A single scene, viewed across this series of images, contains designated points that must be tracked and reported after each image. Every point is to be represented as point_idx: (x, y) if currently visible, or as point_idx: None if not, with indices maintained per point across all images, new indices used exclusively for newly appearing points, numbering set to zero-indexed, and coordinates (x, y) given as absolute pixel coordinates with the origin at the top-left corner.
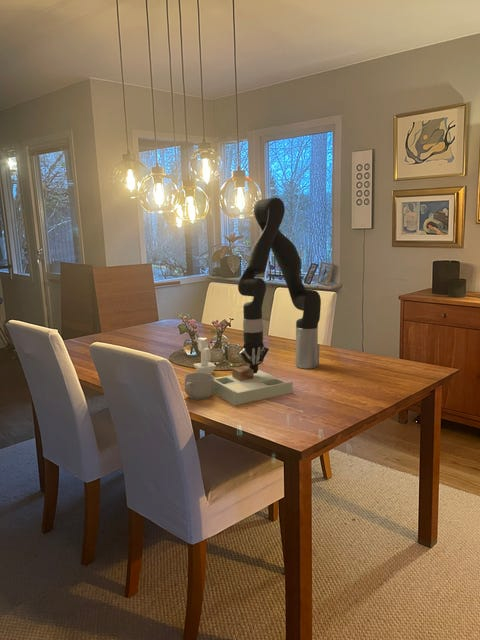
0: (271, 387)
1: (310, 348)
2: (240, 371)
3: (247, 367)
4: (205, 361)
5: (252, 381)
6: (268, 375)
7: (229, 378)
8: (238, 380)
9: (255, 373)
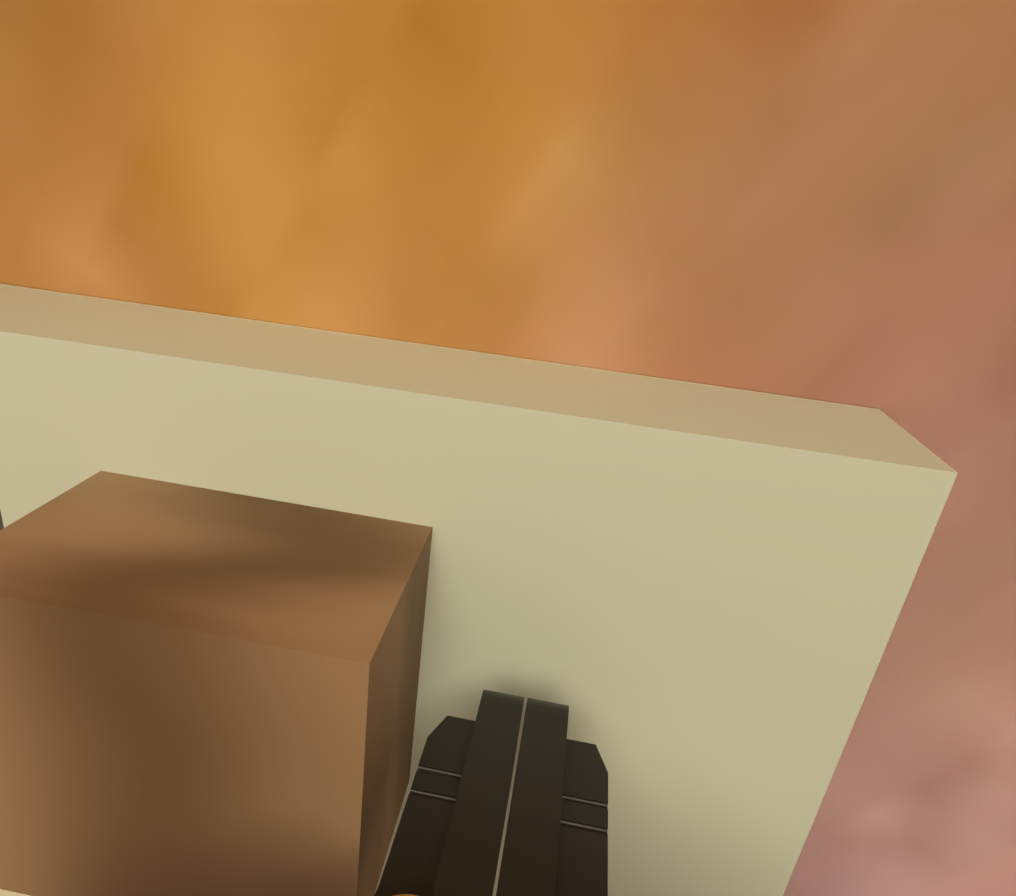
0: None
1: None
2: (22, 876)
3: (323, 793)
4: None
5: None
6: (743, 842)
7: (11, 513)
8: None
9: (647, 613)
